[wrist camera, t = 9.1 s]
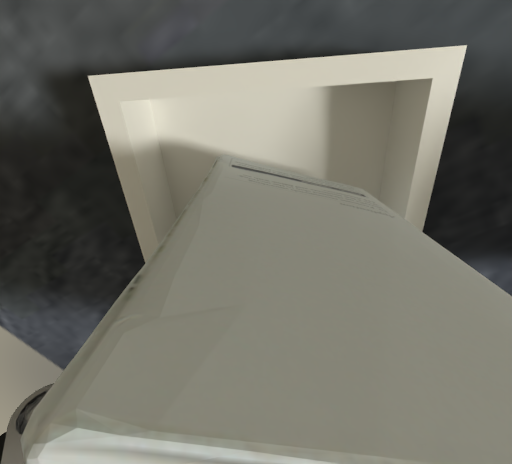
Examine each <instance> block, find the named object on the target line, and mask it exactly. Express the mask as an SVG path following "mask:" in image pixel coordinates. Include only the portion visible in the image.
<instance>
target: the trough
mask: <svg viewBox="0 0 512 464" xmlns="http://www.w3.org/2000/svg"><path fill="white" fill-rule="evenodd" d="M466 47H467V45H465V46H453V47H440V48H428V49H415V50H403V51H391V52H378V53H366V54H353V55H341V56H329V57H316V58H304V59H291V60H279V61H266V62H254V63H242V64H229V65H217V66H204V67H192V68H180V69H167V70H155V71H142V72H130V73H118V74H105V75H93V76H88V78H89V82H90V85H91V88H92V91H93V95H94V98H95V101H96V104H97V108H98V111H99V114H100V117H101V121H102V124H103V127H104V130H105V134H106V137H107V140H108V143H109V147H110V150H111V153H112V156H113V160H114V163H115V166H116V169H117V173H118V176H119V179H120V182H121V186H122V189H123V192H124V195H125V199H126V202H127V205H128V208H129V212H130V215H131V218H132V222H133V225H134V228H135V231H136V235H137V238H138V241H139V244H140V248H141V251H142V254H143V257H144V261H145V263H146V262H147V260H148V259H149V258H150V256H151V255H152V253H153V252H154V251H155V249H156V248H157V247H158V245H159V244H160V243H161V241H162V240H163V239H164V237H165V236H166V234H167V233H168V231H169V230H170V228H171V227H172V225H173V224H174V223H175V221H176V220H177V219H178V217H179V216H180V215H181V213H182V212H183V210H184V209H185V207H186V206H187V204H188V203H189V201H190V200H191V198H192V197H193V195H194V194H195V193H196V191H197V190H198V189H199V187H200V185H201V183H202V182H203V180H204V179H205V178H206V176H207V175H208V173H209V171H210V169H211V167H212V165H213V164H214V162H215V160H216V157H218V156H221V155H224V154H225V155H230V156H234V157H237V158H240V159H244V160H248V161H251V162H255V163H259V164H263V165H267V166H271V167H275V168H279V169H283V170H287V171H291V172H295V173H299V174H303V175H306V176H310V177H315V178H319V179H324V180H328V181H333V182H338V183H343V184H346V185H350V186H354V187H358V188H361V189H364V190H366V191H367V192H368V193H369V194H371V195H372V196H374V197H375V198H376V199H378V200H379V201H380V202H382V203H383V204H384V205H386V206H387V207H389V208H390V209H391V210H393V211H394V212H396V213H397V214H398V215H400V216H401V217H403V218H404V219H405V220H407V221H408V222H409V223H411V224H412V225H413V226H415V227H416V228H418V229H419V230H420V231H423V227H424V223H425V219H426V215H427V210H428V206H429V202H430V198H431V194H432V189H433V185H434V181H435V177H436V173H437V169H438V164H439V160H440V156H441V152H442V148H443V144H444V139H445V135H446V131H447V127H448V123H449V118H450V114H451V110H452V106H453V102H454V98H455V93H456V89H457V85H458V81H459V77H460V72H461V68H462V64H463V60H464V56H465V52H466Z"/></svg>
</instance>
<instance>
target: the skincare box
mask: <svg viewBox="0 0 512 464" xmlns="http://www.w3.org/2000/svg"><path fill="white" fill-rule="evenodd" d="M21 445H22V451H23V457H24V463H25V464H512V296H510V295H509V294H508V293H506V292H505V291H504V290H502V289H501V288H499V287H498V286H497V285H495V284H494V283H492V282H491V281H490V280H488V279H487V278H485V277H484V276H483V275H481V274H480V273H479V272H477V271H476V270H474V269H473V268H472V267H470V266H469V265H467V264H466V263H465V262H463V261H462V260H460V259H459V258H458V257H456V256H455V255H454V254H452V253H451V252H449V251H448V250H447V249H445V248H444V247H442V246H441V245H440V244H438V243H437V242H435V241H434V240H433V239H431V238H430V237H429V236H427V235H426V234H424V233H423V232H422V231H420V230H419V229H418V228H416V227H415V226H413V225H412V224H411V223H409V222H408V221H407V220H405V219H404V218H403V217H401V216H400V215H398V214H397V213H396V212H394V211H393V210H391V209H390V208H389V207H387V206H386V205H384V204H383V203H382V202H380V201H379V200H378V199H376V198H375V197H374V196H372V195H371V194H369V193H368V192H367V191H366V190H364V189H361V188H358V187H354V186H350V185H346V184H343V183H338V182H333V181H328V180H324V179H319V178H315V177H310V176H306V175H303V174H299V173H295V172H291V171H287V170H283V169H279V168H275V167H271V166H267V165H263V164H259V163H255V162H251V161H248V160H244V159H240V158H237V157H234V156H230V155H225V154H224V155H221V156H218V157H216V160H215V162H214V164H213V165H212V167H211V169H210V171H209V173H208V175H207V176H206V178H205V179H204V180H203V182H202V183H201V185H200V187H199V189H198V190H197V191H196V193H195V194H194V195H193V197H192V198H191V200H190V201H189V203H188V204H187V206H186V207H185V209H184V210H183V212H182V213H181V215H180V216H179V217H178V219H177V220H176V221H175V223H174V224H173V225H172V227H171V228H170V230H169V231H168V233H167V234H166V236H165V237H164V239H163V240H162V241H161V243H160V244H159V245H158V247H157V248H156V249H155V251H154V252H153V253H152V255H151V256H150V258H149V259H148V260H147V262H146V263H145V265H144V266H143V267H142V268H141V270H140V271H139V272H138V273H137V274H136V276H135V277H134V278H133V279H132V280H131V282H130V283H129V284H128V286H127V287H126V288H125V290H124V291H123V292H122V294H121V295H120V296H119V298H118V299H117V300H116V302H115V303H114V304H113V305H112V307H111V308H110V309H109V311H108V312H107V314H106V315H105V316H104V318H103V319H102V320H101V322H100V323H99V324H98V326H97V327H96V329H95V330H94V331H93V333H92V334H91V335H90V337H89V338H88V340H87V341H86V342H85V344H84V345H83V346H82V348H81V349H80V350H79V351H78V353H77V354H76V355H75V357H74V358H73V359H72V361H71V362H70V363H69V365H68V366H67V367H66V368H65V370H64V371H63V372H62V374H61V375H60V376H59V378H58V379H57V380H56V382H55V383H54V384H53V385H52V387H51V388H50V389H49V391H48V392H47V393H46V395H45V396H44V397H43V398H42V400H41V401H40V402H39V404H38V405H37V406H36V408H35V409H34V410H33V413H32V415H31V417H30V419H29V421H28V423H27V425H26V427H25V430H24V432H23V435H22V437H21Z"/></svg>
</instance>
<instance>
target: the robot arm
mask: <svg viewBox="0 0 512 464" xmlns="http://www.w3.org/2000/svg"><path fill="white" fill-rule="evenodd" d="M53 384H54V383H53ZM53 384H50V385H47V386H45V387H43V388H41V389H39V390H38V391H36V392H34V393H33V394H32V395H30V396H29V397H28V398H26V399H25V400H24V401H23V402H22V403H21V405H20V406H19V407H18V408H17V409H16V411H15V412H14V414H13V415H12V417H11V419H10V421H9V424H8V427H7V432H5V433H4V434H2V435H1V436H0V464H25V463H24V457H23V451H22V445H21V437H22V435H23V432H24V430H25V427H26V425H27V423H28V421H29V419H30V417H31V415H32V413H33V410H34V409H35V408H36V406H37V405H38V404H39V402H40V401H41V400H42V398H43V397H44V396H45V395H46V393H47V392H48V391H49V389H50V388H51V387H52V385H53Z"/></svg>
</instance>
